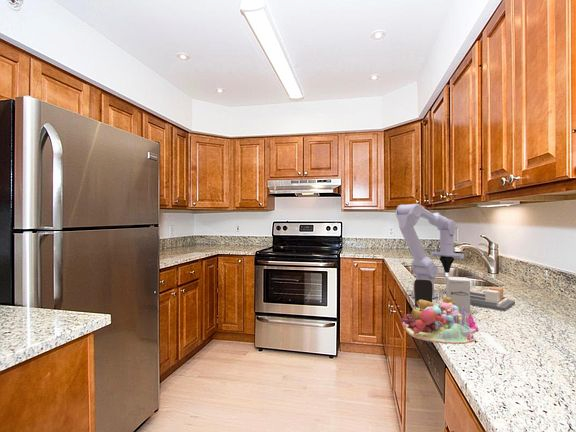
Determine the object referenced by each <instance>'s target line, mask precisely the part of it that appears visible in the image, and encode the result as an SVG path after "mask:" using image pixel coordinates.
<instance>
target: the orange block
mask: <svg viewBox="0 0 576 432" xmlns="http://www.w3.org/2000/svg"><path fill="white" fill-rule="evenodd" d="M488 289H489V290H496V291H500V300H503V297H504V288H502V287H496V286H492V287H489V288H488Z"/></svg>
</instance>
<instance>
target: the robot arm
mask: <svg viewBox="0 0 576 432" xmlns="http://www.w3.org/2000/svg"><path fill="white" fill-rule="evenodd" d="M395 217H396V218H397V221H398V228H399V230H400V232H401V234H402V237H403V238H404V241H405V243H406V245H407V247H408V249H409V252H410V253H411V255H412V257H413V260H412V261H411V266H412V271H413V273H414V275H415V277H416V279H417V278H423V279H430V280H431V281H432V284H433V298H432V300H433V299H435V298H437V297H439V295H437V294H435V279H436V277H437V275H438V274H439V268H438V265H436V264H435V263H434V261H433V259H431V258H430V257H439V261H440V263H441V265H442V267H443V271H444V273H446V274H449V273H450V270H451V267H452V265H453V263H454V261H455V259H460V260H461V259H463V260H464V259H465V255H464V253H462V254H461V253H455V252H454V235H455V234H456V233H455V231H456V229H457V224H456V221H455V220H453V219H452V218H450V219H449V218H448V217H446V216H444V215H441V213H440V212H433V213H432V212H431V211H429V210H427V209H426V208H424V207H423V205H422V204H421V205H420V204H419V203H410V204H409V203H408V204H399V205H397V207H396V211H395ZM420 218H423V219H425V220H427V221H428V223H429V224H430V225H431V226H433V227H436V228H437V230H438V231H439V250H440V251H431V252H430V257H428V256H427V254H426V252H425V249H424V248H423V246H422V243H421V241H420V239H419V236H418V234H417V232H416V230H415V227H414V226H416V225H417V224H418V222H419V220H420ZM412 287H413V289H414V283H413V285H412ZM411 298H415V297H414V294H413V295H411Z"/></svg>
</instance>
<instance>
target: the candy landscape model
mask: <svg viewBox="0 0 576 432" xmlns="http://www.w3.org/2000/svg"><path fill="white" fill-rule="evenodd" d="M451 301H452V299H451V298H450V297H446V296H445V297H443V299H442V301H439V302H438V303H435V302H433V301H432V302H429V301H426V300H421V299H420V300H419V301H417V302H416V303H417V305H418V307H417V308H419V309H415V308H414V309H412V311H411V312H410V313H407V314H405V315H403V316H402V318H401V319H400V320H399V322H400V323H401V324H402V326H403V327H405V331H406V333H407V334H408V335H410V336H411V337H413V338H414V339H417V340H422V341H425V342H430V343H441V344H450V345H456V344H457V345H458V344H459V345H461V344H462V345H463V344H469V343H472V342H476V336H475V335H474V334H475V333H476V332H477V331H479V327H477V326H476V324H477V322H476V321H475V320H474V317H473V310H472V309H470V313H468V307H467V309H466V313H465V311H464V306H463V309H461V313H460V312H459V308H458V307H457V306H456V305H455V301H453V302H451ZM463 311H464V313H463Z"/></svg>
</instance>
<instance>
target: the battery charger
mask: <svg viewBox="0 0 576 432" xmlns="http://www.w3.org/2000/svg"><path fill="white" fill-rule="evenodd" d="M413 284H414V288H413V295H414V297H413V298H414V307H417V308H419V307H418V305H417V303H416V302H417V301H419V300H420V299H421V300H426V301H429V302H432V303H433V299H434V298H433V284H432V281H431V280H430V279H423V278H417V277H416V279H415V280H414V281H413ZM432 298H433V299H432Z"/></svg>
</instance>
